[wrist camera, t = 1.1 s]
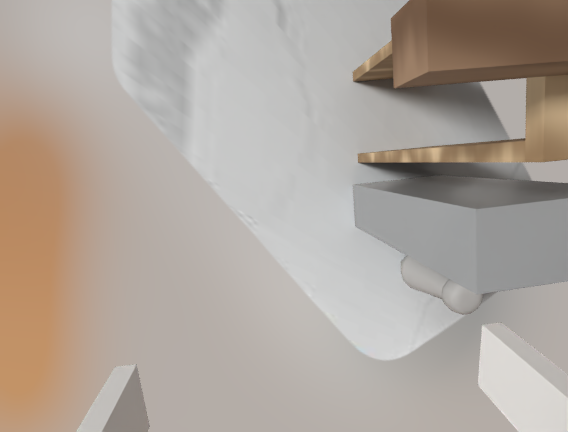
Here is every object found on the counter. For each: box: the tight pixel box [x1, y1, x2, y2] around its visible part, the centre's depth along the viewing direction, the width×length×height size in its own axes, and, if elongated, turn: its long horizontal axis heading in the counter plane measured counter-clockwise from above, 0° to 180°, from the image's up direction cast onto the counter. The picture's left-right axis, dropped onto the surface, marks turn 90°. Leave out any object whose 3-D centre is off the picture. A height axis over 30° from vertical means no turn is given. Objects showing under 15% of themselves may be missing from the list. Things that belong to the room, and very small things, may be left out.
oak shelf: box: [353, 40, 568, 162], centre depth 33 cm, size 12×11×30 cm
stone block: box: [353, 175, 568, 295], centre depth 37 cm, size 6×13×26 cm, turn 95°
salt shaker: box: [401, 256, 483, 315], centre depth 45 cm, size 6×6×13 cm
